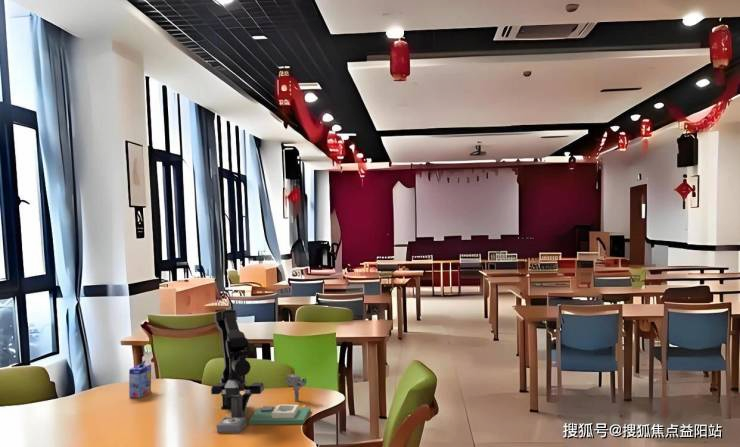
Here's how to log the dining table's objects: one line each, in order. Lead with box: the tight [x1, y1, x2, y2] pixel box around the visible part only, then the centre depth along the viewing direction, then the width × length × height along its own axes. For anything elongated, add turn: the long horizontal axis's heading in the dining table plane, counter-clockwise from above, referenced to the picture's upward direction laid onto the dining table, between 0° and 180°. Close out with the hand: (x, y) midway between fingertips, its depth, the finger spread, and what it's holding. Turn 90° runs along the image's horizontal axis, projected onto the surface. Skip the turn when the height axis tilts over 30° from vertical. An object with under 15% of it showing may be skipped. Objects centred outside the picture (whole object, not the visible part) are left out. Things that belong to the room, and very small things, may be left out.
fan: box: [216, 416, 247, 434], centre depth 197 cm, size 8×8×3 cm
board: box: [248, 404, 311, 425], centre depth 207 cm, size 20×14×4 cm
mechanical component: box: [285, 373, 307, 402], centre depth 227 cm, size 3×10×10 cm, turn 53°
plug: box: [230, 394, 246, 417], centre depth 207 cm, size 4×5×8 cm
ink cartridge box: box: [128, 359, 152, 398], centre depth 242 cm, size 10×6×14 cm, turn 175°
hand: (238, 411), depth 208 cm, fingers closed on plug, 4 cm apart
